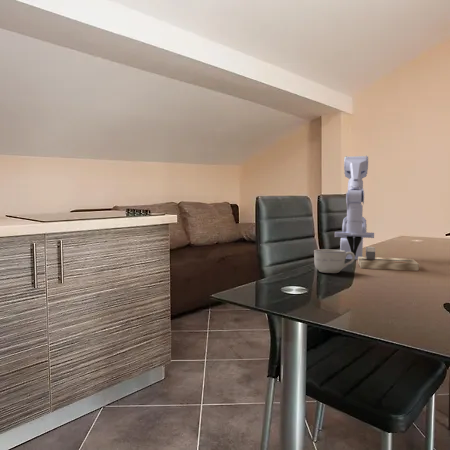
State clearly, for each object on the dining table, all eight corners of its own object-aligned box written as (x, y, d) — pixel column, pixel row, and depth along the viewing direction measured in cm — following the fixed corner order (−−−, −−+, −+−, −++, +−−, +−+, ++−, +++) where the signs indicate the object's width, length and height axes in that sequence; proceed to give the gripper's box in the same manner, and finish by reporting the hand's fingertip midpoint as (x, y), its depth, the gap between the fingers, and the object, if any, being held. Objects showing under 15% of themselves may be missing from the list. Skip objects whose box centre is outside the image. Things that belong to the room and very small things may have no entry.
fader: (366, 259, 153) (367, 248, 153) (365, 257, 157) (365, 246, 157) (375, 259, 152) (375, 248, 152) (373, 257, 157) (374, 247, 156)
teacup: (309, 273, 141) (310, 250, 140) (318, 268, 150) (318, 247, 149) (350, 277, 134) (351, 253, 133) (356, 271, 144) (357, 249, 143)
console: (360, 268, 150) (360, 261, 150) (357, 262, 162) (358, 256, 162) (418, 270, 146) (418, 263, 145) (411, 265, 157) (411, 258, 157)
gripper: (335, 221, 153) (334, 256, 154) (375, 222, 150) (374, 258, 151) (334, 220, 160) (334, 254, 161) (373, 220, 157) (372, 255, 158)
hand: (353, 255), depth 156 cm, fingers closed
